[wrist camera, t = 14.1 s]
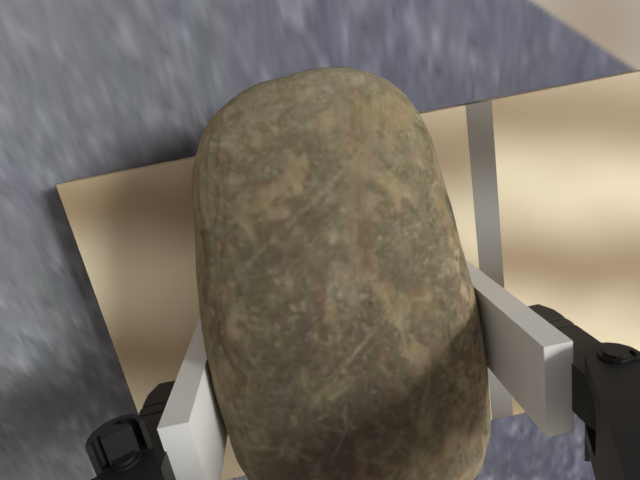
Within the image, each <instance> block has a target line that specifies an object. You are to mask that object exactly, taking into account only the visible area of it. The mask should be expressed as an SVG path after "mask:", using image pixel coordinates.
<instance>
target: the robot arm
mask: <svg viewBox="0 0 640 480" xmlns="http://www.w3.org/2000/svg"><path fill="white" fill-rule="evenodd" d="M466 263H467V267H468V270H469V274H470V278H471V282H472V285H473V289H474V293H475V298H476V302H477V307H478V310H479V318H480V322H481V326H482V331H483V337H484V344H485V352H486V360H487V367H488V368H489V369H490V370H491V371H492V373H493V374H494V375H495V376H496V377H497V379H498V380H499V381H500V382H501V383H502V385H503V386H504V387H505V388H506V389H507V391H508V392H509V393H510V394H511V395H512V396H513V398H514V399H515V400H516V401H517V402H518V404H519V405H520V406H521V407H522V408H523V410H524V411H525V412H526V413H527V414H528V416H529V417H530V418H531V419H532V420H533V422H534V423H535V424H536V425H537V426H538V427H539V429H540V430H541V431H542V432H543V433H544V435H545V436H546V437H549V436H554V435H558V434H563V433H567V432H572V431H574V413H575V414H576V415H577V416H578V417H579V418H580V419H581V420H582V421H583V422H584V423H585V461H590V459H591V463H592V467H593V471H594V475H595V479H596V480H640V351H638V350H636V349H634V348H633V347H630V346H627V345H623V344H619V343H611V342H604V343H601V342H600V341H598V340H597V339H596V338H594V337H593V336H591V335H590V334H588V333H587V332H585V331H584V330H583V329H581V328H580V327H578V326H577V325H574V323H573V322H571V321H570V320H568V319H565V317H564V316H563V315H561V314H560V313H558V312H557V311H555V310H554V309H551V308H548V307H545V306H543V305H540V304H536V305H531V306H526V305H525V304H524V303H522V302H521V301H520V300H518V299H517V298H516V297H514V296H513V295H512V294H510V293H509V292H508V291H507V290H505V289H504V288H503V287H501V286H500V285H499V284H497V283H496V282H495V281H493V280H492V279H491V278H489V277H488V276H487V275H485V274H484V273H483V272H482V271H480V270H479V269H478V268H476V267H475V266H474V265H472V264H471V263H470V262H468V261H467V260H466ZM227 436H228V432H227V429H226V427H225V424H224V421H223V418H222V416H221V413H220V410H219V406H218V403H217V400H216V397H215V394H214V390H213V386H212V381H211V375H210V371H209V366H208V361H207V356H206V351H205V345H204V339H203V333H202V327H201V320H200V319H199V321H198V324H197V326H196V329H195V332H194V334H193V337H192V339H191V342H190V345H189V347H188V350H187V352H186V355H185V357H184V360H183V363H182V365H181V368H180V370H179V373H178V376H177V378H176V380H174V381H169V382H164V383H160V384H158V385H157V386H156V387H155V388H154V389H153V390H152V391H151V392H150V393H149V394H148V396H147V398H146V400H145V402H144V404H143V408H142V409H141V411H140V413H139V415H134V414H130V415H123V416H120V417H117V418H114V419H112V420H110V421H108V422H106V423H104V424H103V425H101V426H100V427H99V428H98V429H96V430H95V431H94V432H93V433H92V434H91V435H90V437H89V438H88V439H87V442H86V446H85V448H86V450H87V453H88V455H89V458H90V460H91V463H92V465H93V468H94V470H95V473H96V475H97V477H95V478H93V479H91V480H221V474H222V468H223V462H224V455H225V449H226V443H227Z"/></svg>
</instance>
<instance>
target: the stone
mask: <svg viewBox="0 0 640 480" xmlns="http://www.w3.org/2000/svg"><path fill="white" fill-rule="evenodd" d="M192 209H193V223H194V234H195V256H196V278H197V288H198V299H199V312H200V320H201V327H202V333H203V339H204V345H205V351H206V356H207V361H208V366H209V371H210V375H211V381H212V386H213V390H214V394H215V397H216V400H217V403H218V406H219V410H220V413H221V416H222V418H223V421H224V424H225V427H226V429H227V432H228V435H229V438H230V442H231V446H232V449H233V451H234V454H235V457H236V460H237V462H238V464H239V465H240V467H241V469H242V471H243V472H244V473H245V475H246V476H247V478H248V479H249V480H473V479H474V478H475V477H476V475H477V474H478V473H479V471H480V470H481V469H482V465H483V461H484V458H485V454H486V450H487V447H488V443H489V439H490V430H491V407H490V395H489V379H488V367H487V360H486V352H485V344H484V337H483V331H482V326H481V322H480V318H479V310H478V307H477V302H476V298H475V293H474V289H473V285H472V282H471V278H470V274H469V270H468V267H467V263H466V259H465V256H464V252H463V249H462V246H461V242H460V238H459V234H458V230H457V226H456V221H455V217H454V213H453V209H452V206H451V202H450V199H449V196H448V193H447V190H446V187H445V183H444V180H443V176H442V173H441V169H440V166H439V163H438V159H437V155H436V152H435V148H434V145H433V142H432V138H431V136H430V134H429V131H428V129H427V127H426V125H425V123H424V121H423V119H422V117H421V116H420V114H419V112H418V111H417V109H416V108H415V106H414V105H413V104H412V102H411V101H410V99H409V98H408V97H407V96H406V95H405V94H404V93H403V92H402V91H401V90H400V89H399V88H397V87H396V86H395V85H393V84H392V83H391V82H390V81H388V80H386V79H384V78H381V77H379V76H377V75H375V74H372V73H369V72H365V71H362V70H358V69H354V68H347V67H331V68H316V69H310V70H306V71H302V72H298V73H294V74H291V75H287V76H284V77H280V78H277V79H273V80H269V81H265V82H261V83H259V84H256V85H254V86H252V87H250V88H248V89H246V90H244V91H242V92H241V93H239V94H238V95H237V96H235V97H234V98H233V99H232V100H230V101H229V102H228V103H227V104H226V105H225V106H224V107H223V108H222V109H220V110H219V111H218V113H217V114H216V115H215V116H214V117H213V118H212V119H211V121H210V122H209V124H208V125H207V126H206V128H205V130H204V132H203V134H202V136H201V139H200V141H199V144H198V149H197V153H196V157H195V161H194V165H193V171H192Z"/></svg>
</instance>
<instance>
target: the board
mask: <svg viewBox="0 0 640 480" xmlns="http://www.w3.org/2000/svg"><path fill="white" fill-rule="evenodd" d="M419 114H420V116H421V117H422V119H423V121H424V123H425V125H426V127H427V129H428V131H429V134H430V136H431V138H432V142H433V145H434V148H435V152H436V155H437V159H438V163H439V166H440V169H441V173H442V176H443V180H444V183H445V187H446V190H447V193H448V196H449V199H450V202H451V206H452V209H453V213H454V217H455V221H456V226H457V230H458V234H459V238H460V242H461V246H462V249H463V252H464V256H465V259H466V260H467V261H468V262H470V263H471V264H472V265H474V266H475V267H476V268H478V269H479V270H480V271H482V272H483V273H484V274H485V275H487V276H488V277H489V278H491V279H492V280H493V281H495V282H496V283H497V284H499V285H500V286H501V287H503V288H504V289H505V290H507V291H508V292H509V293H510V294H512V295H513V296H514V297H516V298H517V299H518V300H520V301H521V302H522V303H524V304H525V305H526V306H531V305H536V304H540V305H543V306H545V307H548V308H551V309H554V310H555V311H557V312H558V313H560V314H561V315H563V316H564V317H565V319H568V320H570V321H571V322H573V323H574V325H577V326H578V327H580V328H581V329H583V330H584V331H585V332H587V333H588V334H590V335H591V336H593V337H594V338H596V339H597V340H598V341H600V342H601V343H604V342H611V343H619V344H623V345H627V346H630V347H633V348H634V349H636V350H638V351H640V70H636V71H631V72H626V73H621V74H616V75H610V76H605V77H600V78H595V79H590V80H585V81H579V82H574V83H569V84H564V85H559V86H554V87H549V88H543V89H538V90H533V91H528V92H523V93H518V94H513V95H507V96H502V97H497V98H492V99H487V100H482V101H477V102H471V103H466V104H461V105H456V106H451V107H446V108H441V109H435V110H430V111H425V112H420V113H419ZM195 157H196V156H193V157H188V158H183V159H178V160H173V161H168V162H163V163H157V164H152V165H147V166H142V167H137V168H132V169H127V170H121V171H116V172H111V173H106V174H101V175H96V176H91V177H85V178H80V179H75V180H70V181H67V182H64V183H61V184H57V185H56V187H57V190H58V192H59V195H60V198H61V201H62V203H63V206H64V209H65V212H66V215H67V217H68V220H69V223H70V226H71V228H72V231H73V234H74V237H75V240H76V242H77V245H78V248H79V251H80V253H81V256H82V259H83V262H84V265H85V267H86V270H87V273H88V276H89V278H90V281H91V284H92V287H93V290H94V292H95V295H96V298H97V301H98V303H99V306H100V309H101V312H102V315H103V317H104V320H105V323H106V326H107V328H108V331H109V334H110V337H111V340H112V342H113V345H114V348H115V351H116V353H117V356H118V359H119V362H120V365H121V367H122V370H123V373H124V376H125V378H126V381H127V384H128V387H129V390H130V392H131V395H132V398H133V401H134V403H135V406H136V409H137V412H138V415H139V413H140V411H141V409H142V408H143V404H144V402H145V400H146V398H147V396H148V394H149V393H150V392H151V391H152V390H153V389H154V388H155V387H156V386H157V385H158V384H160V383H164V382H169V381H174V380H176V378H177V376H178V373H179V370H180V368H181V365H182V363H183V360H184V357H185V355H186V352H187V350H188V347H189V345H190V342H191V339H192V337H193V334H194V332H195V329H196V326H197V324H198V321H199V319H200V312H199V299H198V288H197V278H196V256H195V234H194V223H193V209H192V171H193V165H194V161H195ZM488 379H489V395H490V407H491V420H494V419H499V418H503V417H508V416H512V415H517V414H521V413H526V412H525V411H524V410H523V408H522V407H521V406H520V405H519V404H518V402H517V401H516V400H515V399H514V398H513V396H512V395H511V394H510V393H509V392H508V391H507V389H506V388H505V387H504V386H503V385H502V383H501V382H500V381H499V380H498V379H497V377H496V376H495V375H494V374H493V373H492V371H491V370H490V369H489V368H488ZM240 476H245V473H244V472H243V471H242V469H241V467H240V465H239V464H238V462H237V460H236V457H235V454H234V451H233V449H232V446H231V442H230V438H229V435H228V436H227V443H226V449H225V455H224V462H223V468H222V474H221V480H227V479H231V478H236V477H240Z"/></svg>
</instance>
